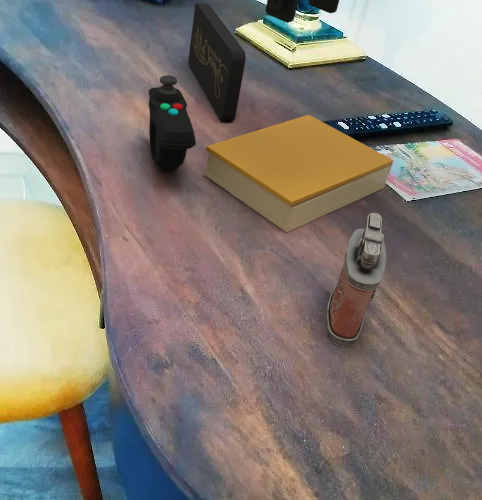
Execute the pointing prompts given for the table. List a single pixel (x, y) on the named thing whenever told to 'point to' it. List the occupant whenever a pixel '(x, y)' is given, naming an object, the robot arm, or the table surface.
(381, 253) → the lighter
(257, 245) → the table surface
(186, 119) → the controller
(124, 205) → the table surface
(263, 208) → the square lidded box
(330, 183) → the cover
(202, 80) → the nameplate
